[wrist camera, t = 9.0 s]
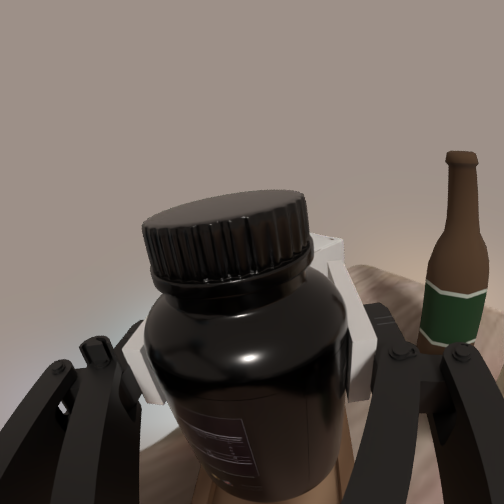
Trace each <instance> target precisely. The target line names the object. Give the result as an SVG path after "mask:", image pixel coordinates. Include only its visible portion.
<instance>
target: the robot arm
mask: <svg viewBox="0 0 504 504" xmlns="http://www.w3.org/2000/svg"><path fill="white" fill-rule="evenodd" d="M327 268H328V278H329V279H330V280H331V281H332V282H333V284H334V285H335V286H336V287H337V289H338V290H339V292H340V293H341V295H342V297H343V299H344V302H345V305H346V309H347V318H348V353H347V377H346V393H347V398H348V403H349V402H356V401H363V400H369V398H370V392H372V399H371V403H370V408H369V412H368V416H367V420H366V424H365V428H364V432H363V436H362V440H361V443H360V447H359V450H358V454H357V457H356V460H355V464H354V467H353V470H352V473H351V476H350V479H349V482H348V485H347V488H346V491H345V493H344V496H343V499H342V501H341V504H406V500H407V495H408V490H409V485H410V480H411V474H412V468H413V462H414V455H415V447H416V438H417V429H418V417H419V413H427V417H428V421H429V425H430V429H431V434H432V438H433V443H434V447H435V452H436V457H437V462H438V468H439V473H440V479H441V486H442V493H443V500H444V504H504V398H503V396H502V393H501V391H500V389H499V388H498V386H497V384H496V382H495V380H494V378H493V376H492V374H491V372H490V370H489V369H488V367H487V365H486V363H485V361H484V360H483V358H482V356H481V354H480V353H479V351H478V350H477V349H476V348H475V347H474V346H472V345H471V344H468V343H464V342H455V343H452V344H449V345H448V346H447V347H446V348H445V350H444V352H443V355H429V354H422V353H420V351H419V349H418V348H417V347H416V346H415V345H414V344H412V343H409V342H406V341H405V339H404V337H403V335H402V333H401V331H400V329H399V328H398V326H397V324H396V323H395V320H394V318H393V317H392V315H391V313H390V311H389V310H388V308H387V307H385V306H384V305H382V304H381V303H373V304H365V305H363V304H362V302H361V299H360V297H359V295H358V293H357V290H356V288H355V286H354V284H353V282H352V280H351V277H350V275H349V273H348V271H347V269H346V267H345V265H344V263H343V260H337V261H327ZM147 317H148V316H147ZM147 317H146V318H145V320H140V321H138V322H137V323H135V324H134V325H133V326H132V327H131V328H130V329H129V330H128V332H127V334H125V336H124V337H123V339H121V340H120V342H119V343H118V344H117V345H116V347H115V348H114V349H113V347H112V345H111V342H110V339H109V338H108V337H106V336H95V337H91V338H89V339H88V340H86V341H84V342H83V343H82V344H81V345H80V346H79V349H80V351H81V353H82V355H83V357H84V359H85V361H86V363H87V367H86V368H80V369H75V368H74V367H73V365H72V363H71V362H70V361H69V360H66V359H63V360H58V361H55V362H54V363H52V364H51V365H50V366H49V367H48V368H47V369H46V370H45V371H44V373H43V374H42V375H41V376H40V378H39V379H38V380H37V382H36V383H35V384H34V386H33V387H32V388H31V390H30V391H29V392H28V393H27V395H26V396H25V398H24V399H23V400H22V402H21V403H20V404H19V406H18V407H17V408H16V410H15V411H14V413H13V414H12V415H11V417H10V418H9V420H8V421H7V423H6V424H5V425H4V427H3V428H2V430H1V431H0V504H139V452H140V428H141V427H140V426H141V411H142V408H141V404H140V403H139V401H138V399H139V398H140V396H141V394H143V396H144V398H145V400H146V402H147V403H149V404H157V405H164V404H165V402H166V399H165V396H164V394H163V392H162V390H161V388H160V386H159V384H158V382H157V379H156V377H155V375H154V373H153V370H152V368H151V365H150V363H149V360H148V357H147V355H146V352H145V347H144V328H145V323H146V320H147ZM61 401H62V403H63V405H64V406H65V408H66V409H67V411H66V413H64V414H63V413H62V411H61V410H60V409H59V407H58V405H59V404H60V402H61Z"/></svg>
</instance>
